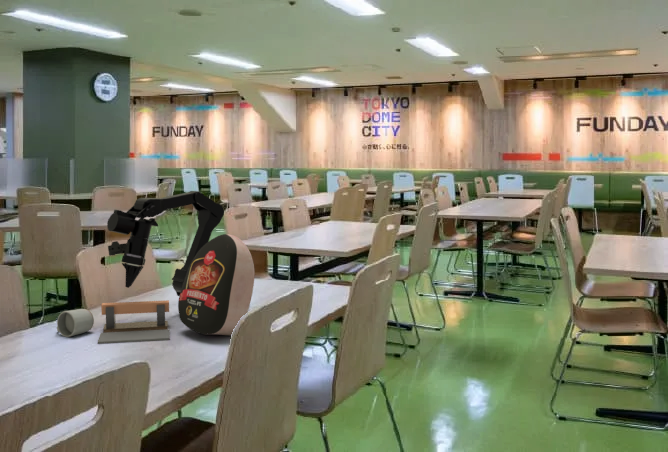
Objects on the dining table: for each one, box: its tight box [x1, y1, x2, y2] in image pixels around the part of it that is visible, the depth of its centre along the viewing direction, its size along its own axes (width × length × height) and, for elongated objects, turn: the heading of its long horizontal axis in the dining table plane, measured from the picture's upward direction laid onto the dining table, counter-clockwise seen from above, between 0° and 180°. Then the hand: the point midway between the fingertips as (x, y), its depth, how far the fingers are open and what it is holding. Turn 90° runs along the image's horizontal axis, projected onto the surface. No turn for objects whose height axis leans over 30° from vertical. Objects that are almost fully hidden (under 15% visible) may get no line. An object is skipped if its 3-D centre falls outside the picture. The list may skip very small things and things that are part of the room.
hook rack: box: [102, 304, 169, 333], centre depth 213 cm, size 19×7×8 cm, turn 104°
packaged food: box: [177, 233, 256, 336], centre depth 207 cm, size 22×20×30 cm
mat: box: [97, 328, 171, 345], centre depth 203 cm, size 20×10×1 cm, turn 104°
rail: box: [100, 299, 170, 316], centre depth 213 cm, size 20×3×3 cm, turn 104°
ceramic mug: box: [56, 308, 95, 338], centre depth 207 cm, size 11×8×8 cm
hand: (128, 286), depth 213 cm, fingers open, 9 cm apart
